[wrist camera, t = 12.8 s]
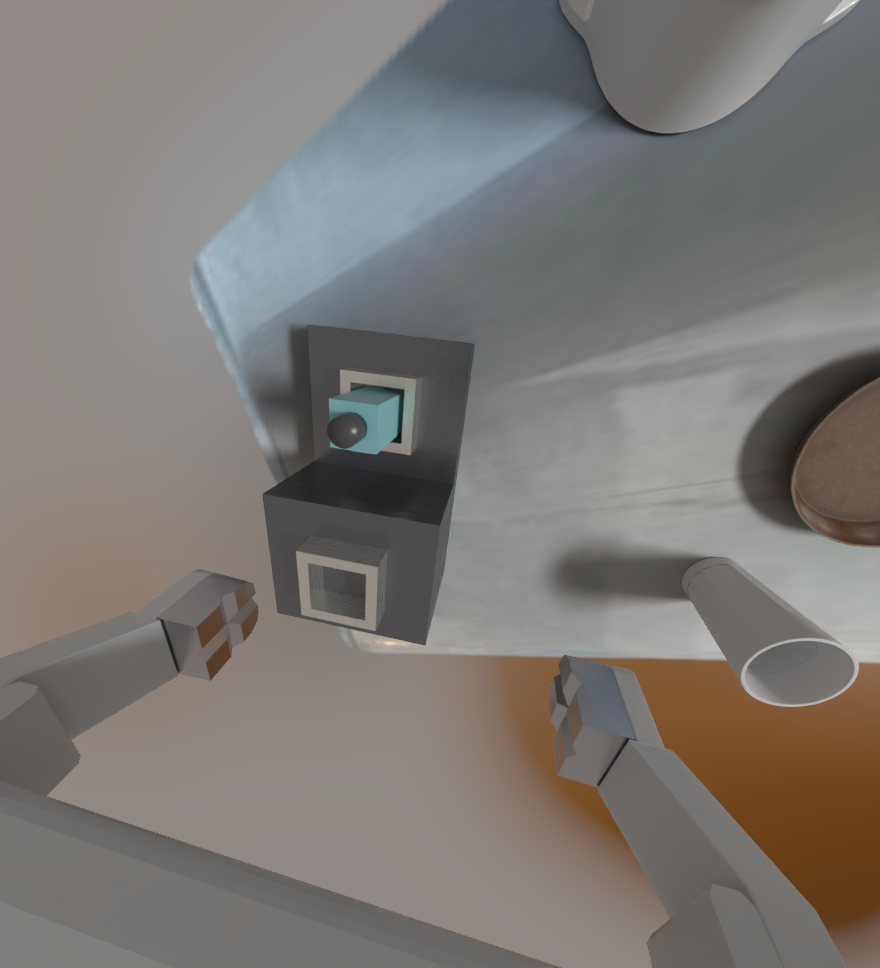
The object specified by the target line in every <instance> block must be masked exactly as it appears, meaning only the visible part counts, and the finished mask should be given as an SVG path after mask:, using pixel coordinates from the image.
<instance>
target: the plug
mask: <svg viewBox="0 0 880 968" xmlns="http://www.w3.org/2000/svg"><path fill="white" fill-rule="evenodd" d="M403 408H404V392H403V391H396V390H388V389H381V388H374V387H367V386H366V387H363V388H360V389H357V390H354V391H351V392H347V393H344V394H341V395H338V396H335V397H332V398H329V424H328V427H327V434H328V437H329V439H330V447H332V448H339V449H345V450H351V451H354V452H361V453H367V454H378V453H379V452H380V451H381V450H382V449H383V448H384V447H385V446H387V445H388V444H389V443H390V442H391V441H392V440H393V439H394V438H395V437H397V436H398V435H399V434H400V433H401V432H402V424H403Z"/></svg>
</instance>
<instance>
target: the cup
mask: <svg viewBox="0 0 880 968" xmlns="http://www.w3.org/2000/svg"><path fill="white" fill-rule="evenodd" d="M682 588H683V590H684V592H685V593H686V594H687V596H688V597H689V598H690V600H691V602H692V603H693V605H694V607H695V608H696V610H697V611H698V613H699V615H700V616H701V618H702V620H703V621H704V623H705V625H706V626H707V628H708V629H709V631H710V633H711V634H712V636H713V638H714V639H715V641H716V643H717V644H718V646H719V648H720V649H721V651H722V652H723V654H724V656H725V657H726V659H727V661H728V662H729V664H730V666H731V668H732V669H733V671H734V673H735V674H736V676H737V678H738V679H739V681H740V683H741V684H742V686H743V688H744V689H745V690H746V692H747V693H748V694H750V695H751V696H752V697H754V698H756V699H757V700H760V701H762V702H765V703H768V704H772V705H777V706H788V707H796V706H797V707H798V706H807V705H812V704H817V703H820V702H823V701H826V700H829V699H831V698H833V697H835V696H837V695H839V694H841V693H842V692H844V691H845V690H846V689H847V688H848V687H849V686H850V685H851V684H852V683H853V682H854V680H855V679H856V677H857V674H858V669H859V666H858V661H857V659H856V657H855V655H854V654H853V653H852V652H851V651H850V650H849V649H848V648H846V647H845V646H844V645H842V644H841V643H840V642H838V641H837V640H836V639H834V638H833V637H832V636H830V635H829V634H828V633H826V632H825V631H824V630H822V629H821V628H820V627H818V626H817V625H816V624H815V623H813V622H812V621H811V620H809V619H808V618H806V617H805V616H804V615H802V614H801V613H800V612H798V611H797V610H796V609H795V608H793V607H792V606H791V605H789V604H788V603H787V602H785V601H784V600H783V599H782V598H780V597H779V596H778V595H776V594H775V593H774V592H773V591H771V590H770V589H769V588H767V587H766V586H765V585H764V584H762V583H761V582H760V581H758V580H757V579H756V578H755V577H753V576H752V575H751V574H749V573H748V572H747V571H746V570H745V569H744V568H743V567H742V566H741V565H739V564H738V563H737V562H735V561H734V560H731V559H728V558H723V557H713V558H707V559H703V560H701V561H698V562H696V563H695V564H693V565H692V566H690V567H689V568H688V569H687V570H686V572H685V573H684V575H683V577H682Z"/></svg>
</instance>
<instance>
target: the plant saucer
mask: <svg viewBox="0 0 880 968" xmlns="http://www.w3.org/2000/svg"><path fill="white" fill-rule="evenodd" d="M790 491H791V496H792V500H793V504H794V507H795V509H796V511H797V513H798V515H799V516H800V518H801V519H802V520H803V521H804V522H805V524H806V525H807V526H809V527H810V528H811V529H812V530H814V531H815V532H817V533H818V534H820V535H822V536H824V537H826V538H828V539H830V540H833V541H836V542H839V543H843V544H847V545H852V546H861V547H880V376H878V377H876V378H874V379H872V380H870V381H869V382H867V383H865V384H863V385H861V386H860V387H858V388H857V389H855V390H853V391H852V392H850V393H849V394H847V395H846V396H844V397H843V398H842V399H840V400H839V401H838V402H836V403H835V404H834V405H833V406H831V407H830V408H829V409H828V410H827V411H826V412H825V413H824V414H823V415H821V416H820V418H819V419H818V420H817V421H816V422H815V423H814V424H813V425H812V426H811V428H810V429H809V430H808V432H807V433H806V434H805V436H804V437H803V439H802V441H801V443H800V444H799V447H798V449H797V451H796V453H795V456H794V459H793V463H792V467H791V474H790Z"/></svg>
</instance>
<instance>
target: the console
mask: <svg viewBox="0 0 880 968" xmlns="http://www.w3.org/2000/svg"><path fill="white" fill-rule="evenodd" d="M307 327H308V346H309V365H310V384H311V403H312V422H313V441H314V460H315V461H314V462H313V463H311V464H309V465H308V466H306V467H305V468H303V469H301V470H300V471H298V472H297V473H295V474H294V475H292V476H290V477H289V478H287V479H286V480H284V481H282V482H281V483H279V484H278V485H276V486H275V487H273V488H272V489H270V490H268V491H267V492H265V493H263V501H264V508H265V516H266V525H267V533H268V541H269V547H270V556H271V563H272V572H273V580H274V588H275V596H276V604H277V612H278V613H281V614H286V615H290V616H295V617H299V618H304V619H308V620H313V621H317V622H322V623H326V624H331V625H335V626H340V627H344V628H349V629H353V630H358V631H362V632H367V633H372V634H376V635H381V636H385V637H390V638H394V639H399V640H403V641H408V642H412V643H417V644H421V645H426V641H427V637H428V633H429V629H430V625H431V621H432V617H433V612H434V608H435V604H436V600H437V596H438V592H439V588H440V584H441V580H442V576H443V572H444V566H445V559H446V551H447V544H448V537H449V529H450V522H451V514H452V507H453V500H454V492H455V485H456V478H457V470H458V463H459V456H460V448H461V441H462V434H463V426H464V419H465V412H466V404H467V397H468V390H469V382H470V375H471V368H472V360H473V353H474V346H475V344H470V343H462V342H453V341H444V340H436V339H427V338H419V337H410V336H401V335H393V334H384V333H375V332H367V331H358V330H350V329H341V328H332V327H324V326H314V325H307ZM366 386H367V387H374V388H381V389H388V390H396V391H403V392H404V408H403V424H402V432H401V433H400V434H399V435H398V436H397V437H395V438H394V439H393V440H392V441H391V442H390V443H389V444H388V445H387V446H385V447H384V448H383V449H382V450H381V451H380V452H379V453H378V454H367V453H361V452H354V451H351V450H345V449H339V448H332V447H330V439H329V437H328V434H327V427H328V424H329V398H332V397H335V396H338V395H341V394H344V393H347V392H351V391H354V390H357V389H360V388H363V387H366Z"/></svg>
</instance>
